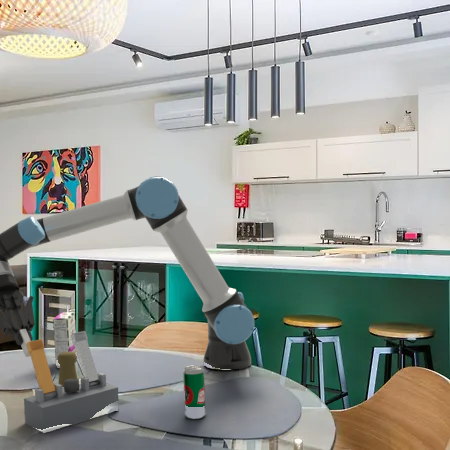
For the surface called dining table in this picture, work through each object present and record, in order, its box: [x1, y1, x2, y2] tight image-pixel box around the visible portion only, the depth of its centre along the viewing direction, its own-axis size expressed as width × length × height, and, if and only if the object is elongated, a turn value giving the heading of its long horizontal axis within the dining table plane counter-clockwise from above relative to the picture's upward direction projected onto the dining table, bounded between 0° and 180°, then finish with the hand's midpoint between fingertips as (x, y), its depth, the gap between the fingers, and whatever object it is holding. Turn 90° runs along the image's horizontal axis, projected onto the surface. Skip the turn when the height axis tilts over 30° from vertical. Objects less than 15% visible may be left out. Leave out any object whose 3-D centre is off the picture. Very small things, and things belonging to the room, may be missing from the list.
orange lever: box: [26, 338, 57, 399], centre depth 143 cm, size 2×4×14 cm
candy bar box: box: [52, 311, 77, 361], centre depth 195 cm, size 11×5×16 cm, turn 3°
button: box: [64, 378, 80, 393], centre depth 145 cm, size 4×4×2 cm
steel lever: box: [70, 330, 100, 387], centre depth 151 cm, size 2×4×14 cm
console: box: [23, 372, 120, 430], centre depth 145 cm, size 10×20×9 cm, turn 132°
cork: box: [57, 352, 79, 387], centre depth 166 cm, size 6×6×11 cm
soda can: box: [182, 364, 206, 407], centre depth 142 cm, size 5×5×12 cm
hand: (30, 353), depth 147 cm, fingers closed
